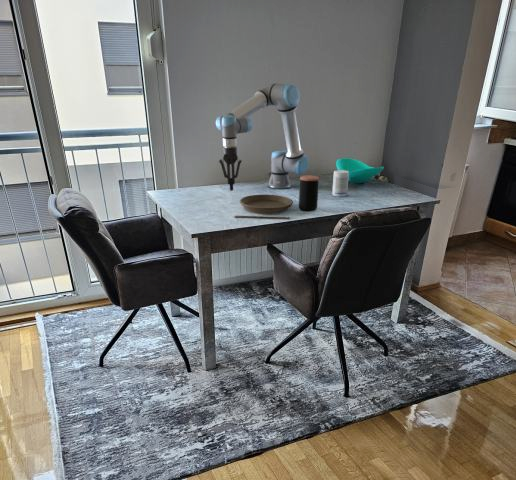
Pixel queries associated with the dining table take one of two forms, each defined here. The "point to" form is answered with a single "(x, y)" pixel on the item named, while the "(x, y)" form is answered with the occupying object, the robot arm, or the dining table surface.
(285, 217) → the walnut ruler
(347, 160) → the table top decor
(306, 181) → the coffee jar
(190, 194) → the dining table surface
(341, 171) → the supplement tub
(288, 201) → the plant saucer
